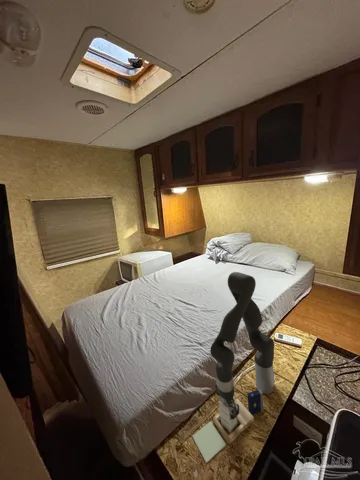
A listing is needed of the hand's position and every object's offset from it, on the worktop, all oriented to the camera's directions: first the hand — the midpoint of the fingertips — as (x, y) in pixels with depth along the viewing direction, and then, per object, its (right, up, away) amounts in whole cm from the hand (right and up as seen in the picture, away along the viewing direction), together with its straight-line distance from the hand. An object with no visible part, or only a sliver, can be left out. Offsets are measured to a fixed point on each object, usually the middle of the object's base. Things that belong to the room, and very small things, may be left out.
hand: (228, 411), depth 92 cm
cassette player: (+16, -6, +6) cm, 18 cm away
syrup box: (+1, -8, +2) cm, 8 cm away
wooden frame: (+3, -8, +3) cm, 9 cm away
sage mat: (-10, -11, -3) cm, 15 cm away
